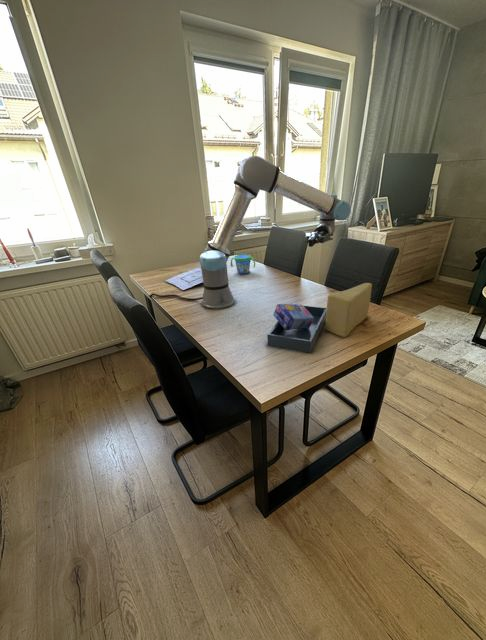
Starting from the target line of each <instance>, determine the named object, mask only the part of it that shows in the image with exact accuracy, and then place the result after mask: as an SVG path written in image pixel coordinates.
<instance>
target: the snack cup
mask: <svg viewBox="0 0 486 640" xmlns="http://www.w3.org/2000/svg"><path fill="white" fill-rule="evenodd" d="M233 260H234V262H235V268H236V272H237V274H239V275H243V274H244V275H245V274H249V273H250V268H251V261H252V262H253V268H255V267H256V261H255V259H254V257H252V256H251V255H250V254H236V255H234V256H233V257H232V258H231V260H230V267H231V268H233V267H234V264H233Z"/></svg>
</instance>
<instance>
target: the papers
mask: <svg viewBox="0 0 486 640" xmlns="http://www.w3.org/2000/svg"><path fill="white" fill-rule="evenodd" d="M165 282H166V283H169V284H171V285H174V286H176V287H177V288H179V289H180V290H182V291H184V290H187V289H190V288H192V287H194V286H196V285H199V284H201V283H203V277H202V271H201V266H200V267H196V268H193V269H190V270H188V271H185V272H183V273H180V274H178V275H174V276H172V277H170V278H167V279H166V280H165Z"/></svg>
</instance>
